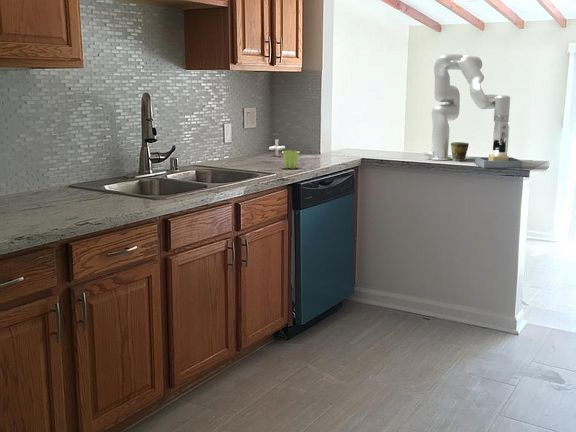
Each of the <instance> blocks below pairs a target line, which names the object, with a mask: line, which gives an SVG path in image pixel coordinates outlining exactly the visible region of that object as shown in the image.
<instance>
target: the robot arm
mask: <svg viewBox="0 0 576 432" xmlns="http://www.w3.org/2000/svg"><path fill="white" fill-rule="evenodd" d="M482 67H483V61H482V59H481V58H480V57H479V56H473V55H467V54H466V55H465V54H459V53H454V54H453V53H445V54H442V55H440V56H438V57H437V58H436V60H435V62H434V66H433V72H434V99H435V101H436V102H438V103H445V104H438V105H435V106H434V107H433V109H432V111H431V120H432V137H431V150H430V151H428V152H427V151H426V152H423V153H422V154H423V156H425V157H427V156H428V160H434V161H449V160H451V157H452V156H449V145H450V143H449V142H450V125H449V122H451V121H455V120H457V118H459V115H460V107H461V106H460V102H461V101H460V100H461V97H460V95H461V94H460V90H459V88H458V87H457V86H455V85H452V84H451V83H450V82H451V76H450V73H449V70H452V71H453V70H456V71H457V70H459V71H460V72H461V73H462V74H463V76H464V78H465V79H466V81H467V83H468V85H469V94H470V97H471V99H472V101H473V102H474V103H475V106H477V107H478V108H479V109H481V110H487V109H488V110H493V109H494V112H493V122H494V125H493V134H492V135H493V138H492V139H493V141H492V143H493V144H492V151H493V150H495V148H499V152H505V148H506V141H507V140H508V141H509V139H508V125H509V121H510V119H509V118H510V109H511V96H509V95H504V94H503V95H501V94H500V95H499V94H485V92H484V90H483V89H482V86H481V83H483V81H484V79H485V76H484V74H483V72H482V70H481V69H482ZM499 141H500V145H499ZM501 141H502V142H501Z"/></svg>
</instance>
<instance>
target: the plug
mask: <svg viewBox="0 0 576 432" xmlns="http://www.w3.org/2000/svg"><path fill="white" fill-rule="evenodd" d="M495 156H502V152H499V148H495Z"/></svg>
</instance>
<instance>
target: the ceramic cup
mask: <svg viewBox="0 0 576 432" xmlns="http://www.w3.org/2000/svg"><path fill="white" fill-rule="evenodd" d="M469 145H470V144H469V142H461V141H459V142H458V141H457V142H450V149H451V157H452V161H453V162H464V160H465V161H466V157H467V153H468V150H469Z"/></svg>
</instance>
